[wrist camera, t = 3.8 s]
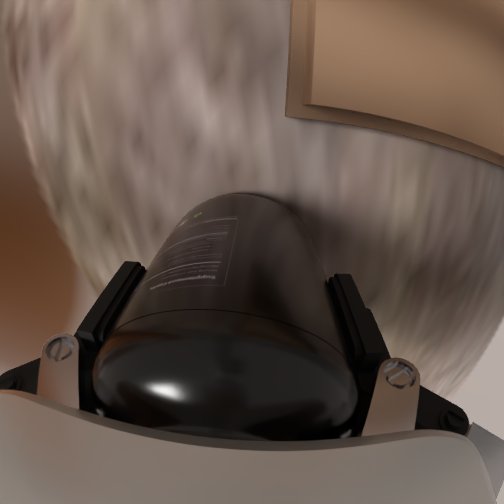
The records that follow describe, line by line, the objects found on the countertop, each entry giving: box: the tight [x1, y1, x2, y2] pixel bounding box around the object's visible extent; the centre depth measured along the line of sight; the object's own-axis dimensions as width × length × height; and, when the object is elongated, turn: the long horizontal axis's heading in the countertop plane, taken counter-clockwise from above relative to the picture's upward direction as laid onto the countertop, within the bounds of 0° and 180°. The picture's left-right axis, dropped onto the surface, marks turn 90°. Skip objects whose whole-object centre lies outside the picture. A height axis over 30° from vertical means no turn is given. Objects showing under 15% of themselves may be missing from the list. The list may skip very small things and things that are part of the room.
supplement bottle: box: [90, 194, 361, 441], centre depth 8 cm, size 7×7×12 cm
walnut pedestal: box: [285, 0, 504, 167], centre depth 6 cm, size 13×13×3 cm
